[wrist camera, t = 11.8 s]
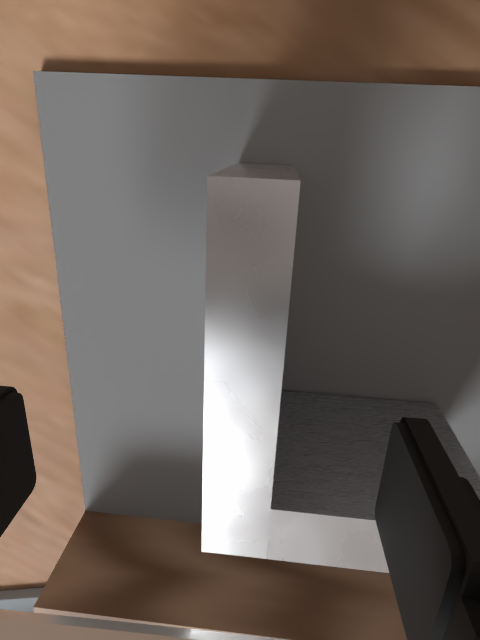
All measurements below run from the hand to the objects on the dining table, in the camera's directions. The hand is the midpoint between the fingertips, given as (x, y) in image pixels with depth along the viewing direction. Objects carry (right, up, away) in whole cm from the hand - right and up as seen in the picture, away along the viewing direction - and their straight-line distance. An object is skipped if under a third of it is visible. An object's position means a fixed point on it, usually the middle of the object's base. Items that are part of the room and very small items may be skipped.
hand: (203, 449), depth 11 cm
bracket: (+5, +3, +5) cm, 7 cm away
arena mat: (+4, +1, +6) cm, 7 cm away
